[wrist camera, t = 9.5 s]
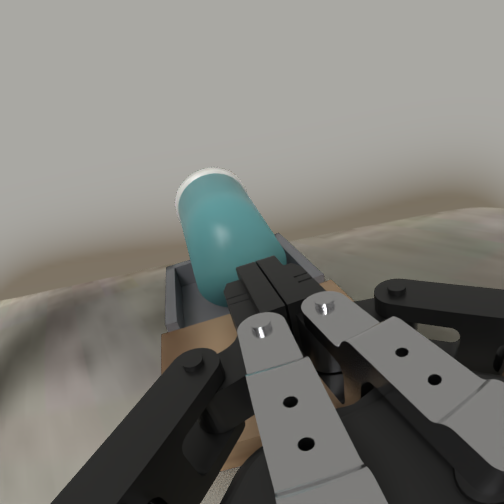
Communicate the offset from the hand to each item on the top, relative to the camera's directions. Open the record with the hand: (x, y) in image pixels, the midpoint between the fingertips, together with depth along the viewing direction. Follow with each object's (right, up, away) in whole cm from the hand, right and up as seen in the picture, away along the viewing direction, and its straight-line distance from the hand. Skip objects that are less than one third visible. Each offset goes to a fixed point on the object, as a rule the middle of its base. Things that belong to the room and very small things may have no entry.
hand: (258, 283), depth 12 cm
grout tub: (-1, 0, +10) cm, 10 cm away
